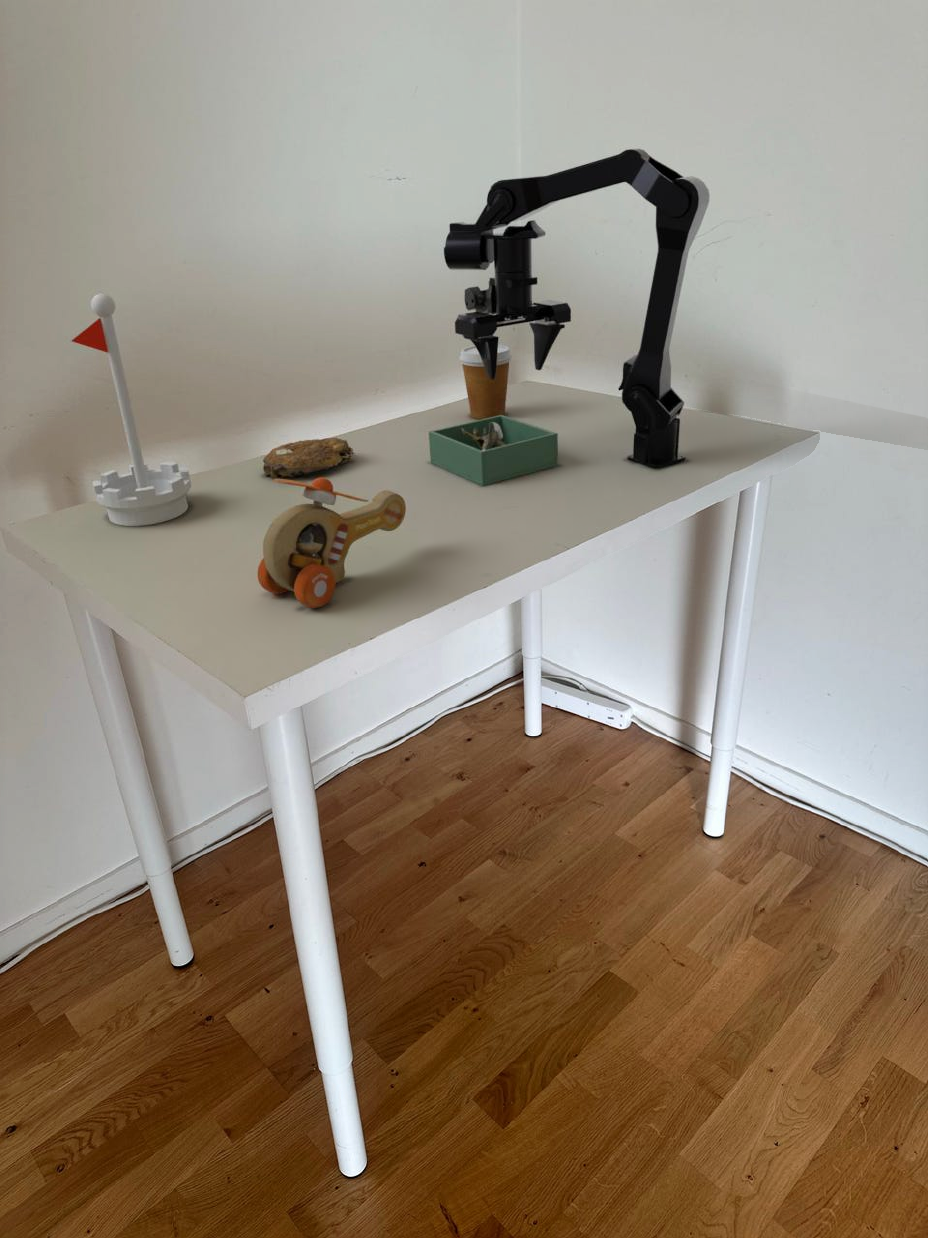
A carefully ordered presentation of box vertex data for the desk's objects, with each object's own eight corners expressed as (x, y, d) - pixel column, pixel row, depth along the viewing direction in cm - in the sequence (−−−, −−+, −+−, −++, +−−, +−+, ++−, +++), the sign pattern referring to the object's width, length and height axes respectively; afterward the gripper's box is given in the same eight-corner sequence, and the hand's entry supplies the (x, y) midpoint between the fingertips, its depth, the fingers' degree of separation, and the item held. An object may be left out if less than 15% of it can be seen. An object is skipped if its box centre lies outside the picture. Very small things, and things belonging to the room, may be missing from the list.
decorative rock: (329, 451, 155) (253, 476, 146) (324, 427, 153) (247, 452, 144) (369, 461, 147) (291, 488, 138) (365, 436, 145) (286, 462, 136)
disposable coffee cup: (514, 420, 165) (512, 353, 159) (461, 423, 165) (458, 355, 160) (512, 407, 173) (510, 342, 168) (462, 409, 174) (459, 345, 168)
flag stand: (167, 490, 140) (124, 283, 126) (212, 508, 131) (171, 290, 117) (86, 514, 132) (30, 297, 118) (127, 536, 123) (72, 304, 109)
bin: (502, 444, 152) (501, 414, 150) (557, 465, 141) (557, 433, 139) (430, 462, 146) (428, 431, 143) (482, 485, 134) (481, 452, 132)
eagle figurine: (452, 452, 144) (480, 456, 136) (468, 410, 143) (497, 411, 136) (490, 470, 148) (519, 475, 140) (505, 429, 147) (536, 431, 140)
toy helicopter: (252, 600, 104) (232, 485, 97) (380, 541, 117) (370, 437, 111) (299, 619, 99) (281, 499, 92) (427, 555, 112) (420, 447, 106)
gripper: (530, 260, 148) (531, 357, 155) (432, 273, 139) (439, 375, 147) (574, 265, 140) (573, 368, 147) (473, 279, 131) (477, 387, 138)
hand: (515, 374), depth 145 cm, fingers open, 9 cm apart
